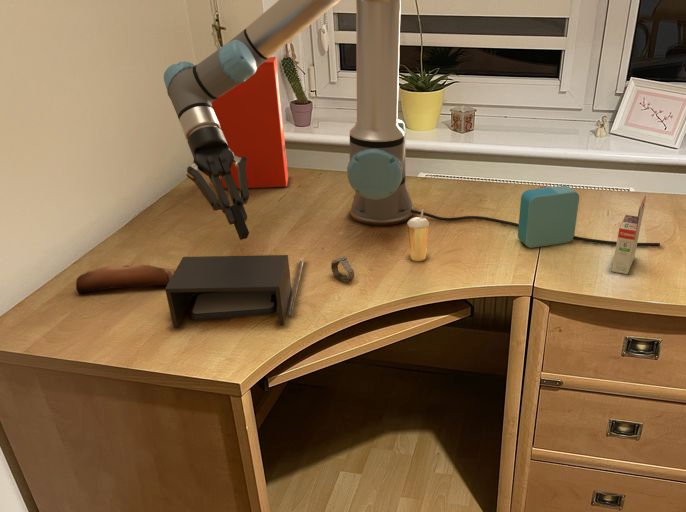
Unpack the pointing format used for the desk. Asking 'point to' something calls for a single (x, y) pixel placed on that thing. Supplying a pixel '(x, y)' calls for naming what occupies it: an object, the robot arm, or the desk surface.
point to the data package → (548, 216)
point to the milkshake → (418, 237)
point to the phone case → (233, 304)
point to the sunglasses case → (123, 277)
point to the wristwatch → (346, 265)
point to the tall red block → (255, 127)
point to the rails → (295, 289)
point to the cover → (228, 280)
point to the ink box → (627, 241)
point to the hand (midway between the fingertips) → (244, 236)
